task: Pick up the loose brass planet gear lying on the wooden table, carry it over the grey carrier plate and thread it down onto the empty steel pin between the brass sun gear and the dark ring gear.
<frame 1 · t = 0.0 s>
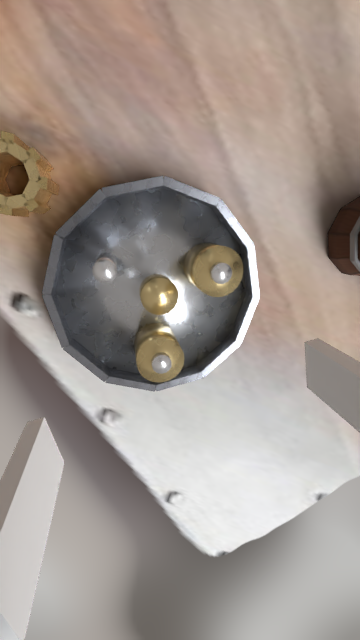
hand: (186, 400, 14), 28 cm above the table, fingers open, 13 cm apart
carrier: (155, 289, 41), on the table
planet gear: (24, 183, 34), on the table
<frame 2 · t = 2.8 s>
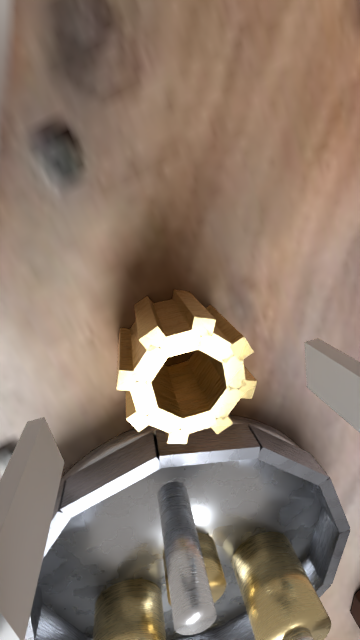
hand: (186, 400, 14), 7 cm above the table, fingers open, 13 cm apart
carrier: (186, 535, 27), on the table
planet gear: (171, 340, 21), on the table
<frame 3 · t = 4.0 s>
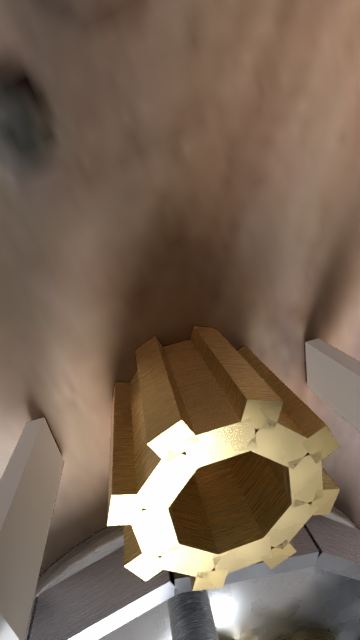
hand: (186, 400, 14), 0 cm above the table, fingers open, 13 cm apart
carrier: (202, 633, 21), on the table
planet gear: (189, 396, 14), on the table
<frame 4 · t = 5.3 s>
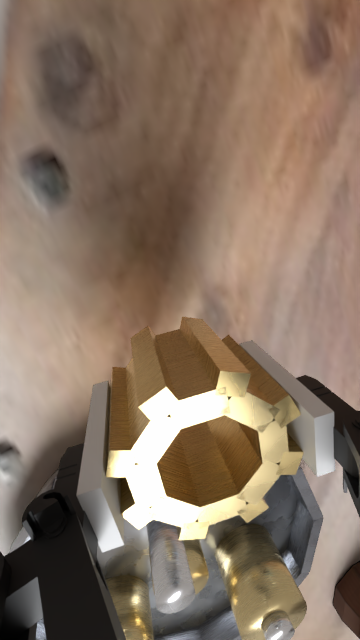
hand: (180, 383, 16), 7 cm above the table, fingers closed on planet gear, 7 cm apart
carrier: (171, 531, 29), on the table
planet gear: (179, 381, 16), point 7 cm above the table, touching gripper
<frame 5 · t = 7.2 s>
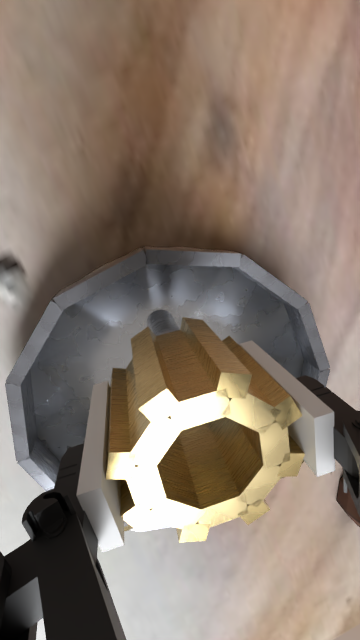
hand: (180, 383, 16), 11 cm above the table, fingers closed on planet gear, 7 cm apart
carrier: (175, 387, 29), on the table
planet gear: (179, 381, 16), point 11 cm above the table, touching gripper
when the fingers open (3 cm above the table, at t = 9.3 s): planet gear drops 1 cm, resting on carrier.
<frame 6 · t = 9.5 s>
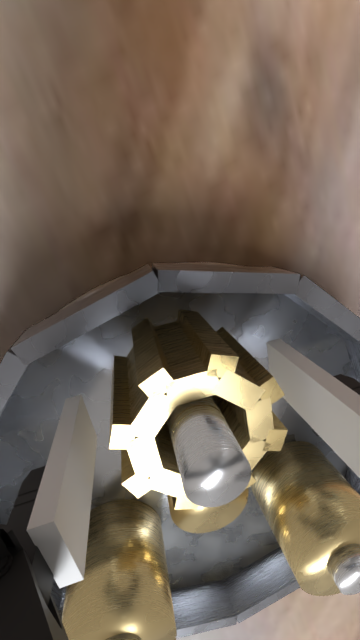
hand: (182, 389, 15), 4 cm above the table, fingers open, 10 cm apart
carrier: (192, 448, 21), on the table
planet gear: (176, 369, 17), point 1 cm above the table, touching carrier
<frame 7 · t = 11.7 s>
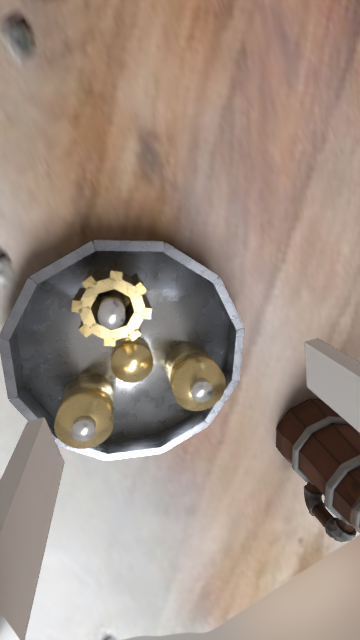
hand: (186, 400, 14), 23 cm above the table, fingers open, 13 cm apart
carrier: (130, 348, 37), on the table
planet gear: (113, 296, 33), point 1 cm above the table, touching carrier
mug: (303, 439, 49), on the table
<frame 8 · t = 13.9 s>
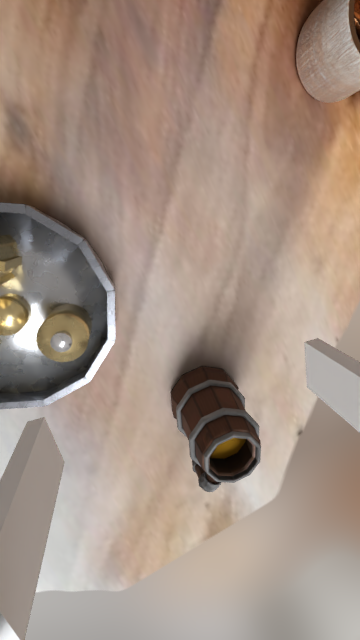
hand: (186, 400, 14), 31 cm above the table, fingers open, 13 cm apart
carrier: (16, 307, 40), on the table
planter: (329, 57, 39), on the table
mug: (199, 405, 52), on the table
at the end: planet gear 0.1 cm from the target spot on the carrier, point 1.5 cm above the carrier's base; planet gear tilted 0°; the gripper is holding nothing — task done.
